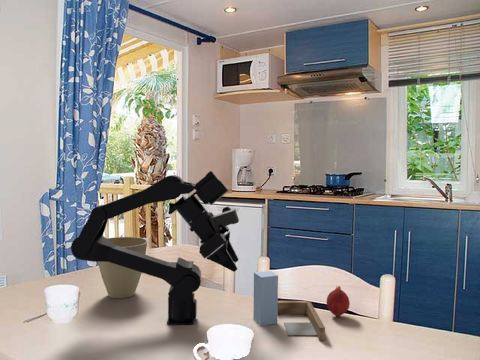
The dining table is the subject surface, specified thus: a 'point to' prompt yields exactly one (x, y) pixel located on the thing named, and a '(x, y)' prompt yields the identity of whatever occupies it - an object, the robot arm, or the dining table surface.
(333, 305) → the onion
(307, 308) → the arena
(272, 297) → the block
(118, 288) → the plant pot
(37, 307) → the dining table surface
